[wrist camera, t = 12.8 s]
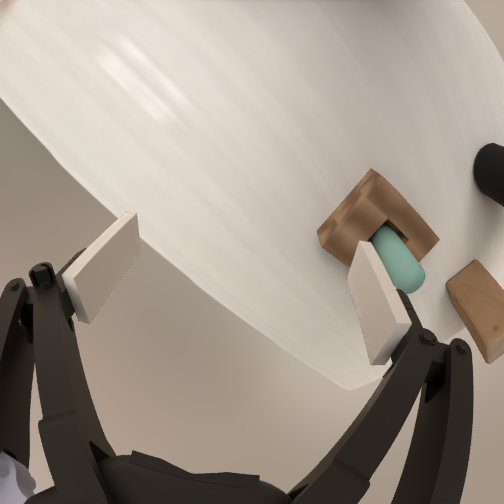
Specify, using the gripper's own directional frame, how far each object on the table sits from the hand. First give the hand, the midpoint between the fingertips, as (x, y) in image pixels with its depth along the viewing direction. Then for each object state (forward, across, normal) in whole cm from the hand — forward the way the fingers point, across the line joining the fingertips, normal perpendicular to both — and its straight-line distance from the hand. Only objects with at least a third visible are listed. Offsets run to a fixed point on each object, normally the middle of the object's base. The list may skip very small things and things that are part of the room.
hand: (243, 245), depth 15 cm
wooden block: (+28, +49, -18) cm, 60 cm away
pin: (+26, +20, -9) cm, 35 cm away
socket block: (+28, +21, -9) cm, 36 cm away
